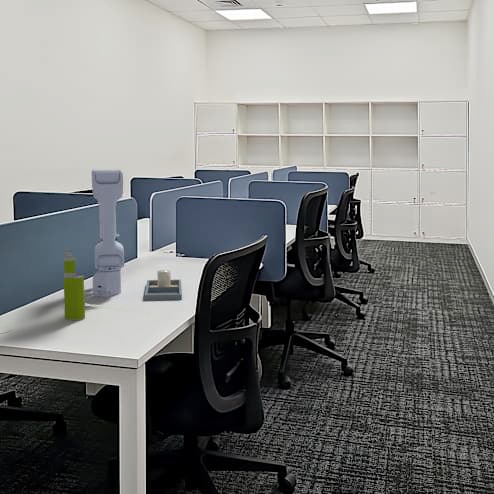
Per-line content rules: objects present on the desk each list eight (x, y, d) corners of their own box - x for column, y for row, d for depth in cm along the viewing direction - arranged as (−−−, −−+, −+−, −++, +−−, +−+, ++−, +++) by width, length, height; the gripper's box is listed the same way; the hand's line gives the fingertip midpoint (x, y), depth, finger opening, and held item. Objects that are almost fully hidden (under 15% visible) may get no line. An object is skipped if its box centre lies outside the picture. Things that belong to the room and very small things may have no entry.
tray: (181, 301, 223) (181, 294, 223) (144, 302, 222) (144, 295, 221) (181, 286, 247) (180, 279, 246) (147, 286, 245) (147, 280, 245)
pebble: (166, 289, 237) (165, 272, 236) (155, 288, 239) (154, 271, 238) (173, 287, 241) (173, 270, 240) (162, 286, 243) (162, 269, 242)
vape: (67, 316, 204) (65, 250, 201) (86, 316, 204) (84, 250, 201) (62, 319, 201) (60, 252, 198) (82, 320, 200) (79, 252, 197)
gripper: (117, 224, 237) (118, 263, 239) (120, 220, 251) (121, 256, 253) (96, 225, 236) (98, 263, 238) (101, 220, 251) (102, 256, 253)
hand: (108, 260), depth 246 cm, fingers open, 7 cm apart
